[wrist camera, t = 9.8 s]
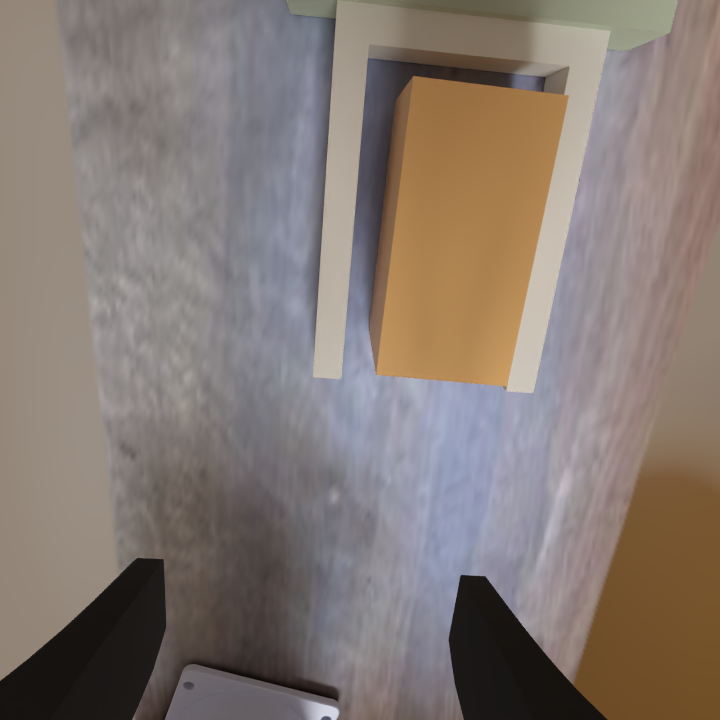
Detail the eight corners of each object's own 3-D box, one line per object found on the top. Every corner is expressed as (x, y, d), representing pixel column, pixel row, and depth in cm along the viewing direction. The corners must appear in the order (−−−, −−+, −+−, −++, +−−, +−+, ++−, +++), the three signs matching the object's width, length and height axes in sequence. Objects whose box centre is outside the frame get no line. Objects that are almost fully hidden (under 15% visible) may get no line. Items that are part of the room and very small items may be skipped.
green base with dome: (552, 376, 21) (612, 434, 17) (277, 355, 21) (257, 409, 16) (699, -273, 15) (864, -480, 10) (304, -332, 14) (284, -581, 10)
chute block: (470, 337, 21) (507, 386, 16) (368, 328, 21) (376, 374, 16) (510, 115, 18) (568, 95, 13) (394, 101, 18) (413, 75, 13)
